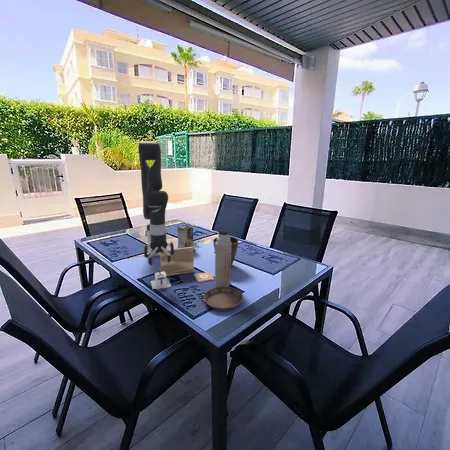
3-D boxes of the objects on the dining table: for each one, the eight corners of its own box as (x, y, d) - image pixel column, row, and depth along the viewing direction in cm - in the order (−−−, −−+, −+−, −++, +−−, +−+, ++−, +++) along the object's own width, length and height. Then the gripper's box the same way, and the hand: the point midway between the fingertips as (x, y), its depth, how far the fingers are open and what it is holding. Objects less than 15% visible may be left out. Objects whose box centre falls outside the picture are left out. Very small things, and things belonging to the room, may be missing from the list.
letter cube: (155, 281, 133) (154, 272, 132) (165, 280, 135) (164, 271, 134) (156, 286, 129) (156, 276, 127) (166, 284, 130) (166, 275, 129)
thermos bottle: (233, 284, 133) (235, 232, 126) (220, 288, 129) (221, 235, 121) (224, 278, 139) (225, 228, 132) (212, 282, 135) (212, 231, 128)
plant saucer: (218, 318, 106) (218, 312, 105) (196, 299, 119) (196, 293, 119) (250, 304, 116) (251, 298, 115) (227, 288, 130) (227, 283, 129)
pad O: (193, 275, 143) (193, 274, 143) (209, 272, 146) (209, 271, 146) (198, 282, 135) (198, 281, 135) (214, 279, 138) (214, 278, 138)
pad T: (150, 281, 134) (150, 280, 134) (168, 279, 138) (168, 278, 137) (152, 290, 126) (152, 288, 126) (171, 286, 130) (171, 285, 129)
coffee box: (186, 247, 186) (186, 225, 182) (193, 248, 183) (193, 226, 179) (177, 250, 179) (177, 228, 175) (184, 252, 176) (184, 229, 171)
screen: (160, 272, 145) (159, 249, 141) (192, 268, 151) (191, 245, 148) (162, 276, 140) (160, 252, 137) (194, 271, 147) (194, 248, 143)
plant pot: (229, 272, 147) (230, 246, 142) (208, 266, 154) (208, 241, 150) (242, 263, 159) (243, 239, 155) (221, 258, 166) (221, 234, 162)
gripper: (171, 228, 131) (172, 258, 135) (142, 231, 126) (144, 262, 130) (174, 233, 124) (175, 264, 129) (143, 236, 119) (145, 268, 123)
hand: (159, 263), depth 129 cm, fingers open, 8 cm apart
